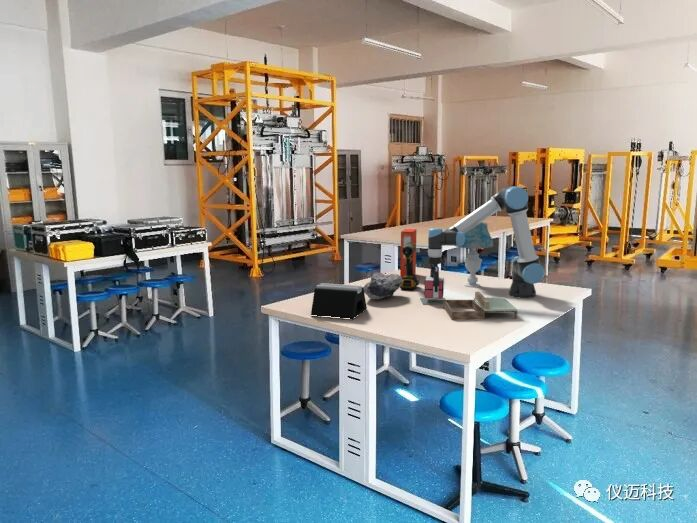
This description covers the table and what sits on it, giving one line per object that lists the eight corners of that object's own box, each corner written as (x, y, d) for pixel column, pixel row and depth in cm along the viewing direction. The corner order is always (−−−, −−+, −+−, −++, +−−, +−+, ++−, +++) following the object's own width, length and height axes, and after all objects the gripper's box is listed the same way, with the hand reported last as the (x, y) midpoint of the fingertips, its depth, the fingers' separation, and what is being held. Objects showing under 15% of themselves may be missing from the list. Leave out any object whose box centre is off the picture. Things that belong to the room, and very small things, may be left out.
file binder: (416, 274, 397) (416, 229, 391) (412, 279, 380) (412, 231, 375) (404, 273, 399) (405, 228, 394) (400, 278, 382) (400, 231, 377)
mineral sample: (377, 292, 341) (377, 268, 338) (407, 295, 332) (407, 270, 330) (357, 302, 317) (357, 276, 314) (389, 305, 308) (389, 278, 306)
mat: (444, 299, 322) (444, 297, 322) (448, 305, 309) (448, 303, 308) (420, 299, 323) (420, 297, 322) (423, 305, 309) (423, 303, 309)
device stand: (352, 320, 280) (352, 291, 277) (310, 317, 287) (310, 288, 285) (366, 310, 300) (366, 282, 298) (327, 306, 308) (327, 280, 306)
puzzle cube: (442, 298, 309) (443, 280, 308) (424, 298, 311) (424, 280, 310) (443, 294, 319) (443, 277, 317) (425, 294, 321) (425, 276, 319)
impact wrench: (420, 285, 359) (421, 242, 355) (414, 292, 339) (415, 246, 335) (399, 284, 363) (400, 241, 359) (392, 291, 343) (392, 245, 339)
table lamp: (446, 287, 355) (447, 223, 348) (464, 281, 372) (466, 220, 366) (480, 292, 339) (482, 225, 333) (498, 285, 357) (500, 222, 350)
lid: (503, 298, 301) (503, 291, 301) (517, 310, 277) (517, 302, 276) (473, 299, 301) (473, 291, 301) (484, 310, 277) (484, 302, 276)
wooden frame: (503, 307, 302) (503, 299, 301) (516, 320, 277) (517, 311, 277) (443, 308, 302) (443, 299, 301) (451, 320, 278) (451, 311, 277)
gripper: (425, 253, 323) (424, 290, 326) (431, 259, 300) (430, 300, 303) (438, 253, 323) (437, 290, 326) (445, 259, 300) (444, 300, 303)
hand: (434, 295), depth 315 cm, fingers closed on puzzle cube, 11 cm apart
